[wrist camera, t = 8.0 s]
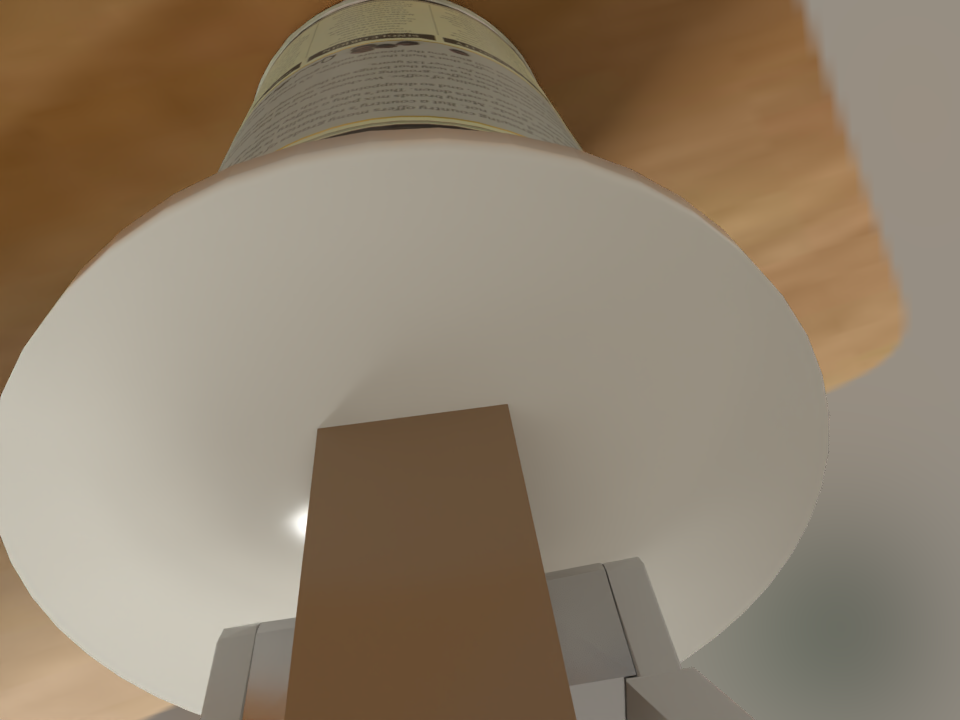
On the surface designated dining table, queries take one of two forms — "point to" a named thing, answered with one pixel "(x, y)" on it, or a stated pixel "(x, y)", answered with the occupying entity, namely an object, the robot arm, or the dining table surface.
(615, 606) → the robot arm
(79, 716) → the dining table surface
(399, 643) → the lid
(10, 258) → the dining table surface
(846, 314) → the dining table surface
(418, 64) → the coffee can
